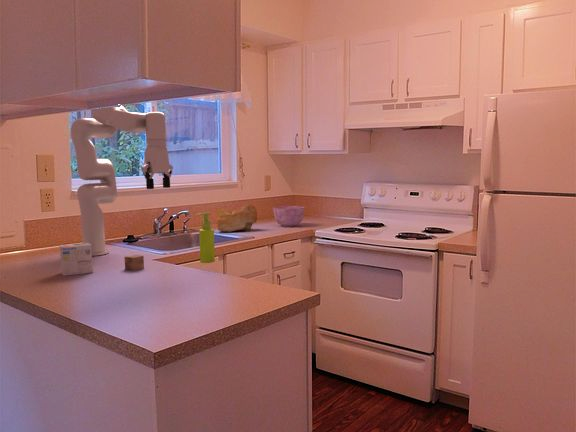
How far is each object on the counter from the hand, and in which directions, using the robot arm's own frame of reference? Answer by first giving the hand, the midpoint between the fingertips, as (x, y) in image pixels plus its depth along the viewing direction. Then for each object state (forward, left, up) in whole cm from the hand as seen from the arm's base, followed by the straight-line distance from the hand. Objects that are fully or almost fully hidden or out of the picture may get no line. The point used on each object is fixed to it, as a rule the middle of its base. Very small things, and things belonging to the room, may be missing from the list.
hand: (158, 188), depth 204 cm
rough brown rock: (-37, +91, -31) cm, 103 cm away
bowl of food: (-21, +122, -31) cm, 127 cm away
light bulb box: (-16, -27, -31) cm, 44 cm away
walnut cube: (-3, -11, -31) cm, 33 cm away
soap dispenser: (+12, +13, -31) cm, 35 cm away
